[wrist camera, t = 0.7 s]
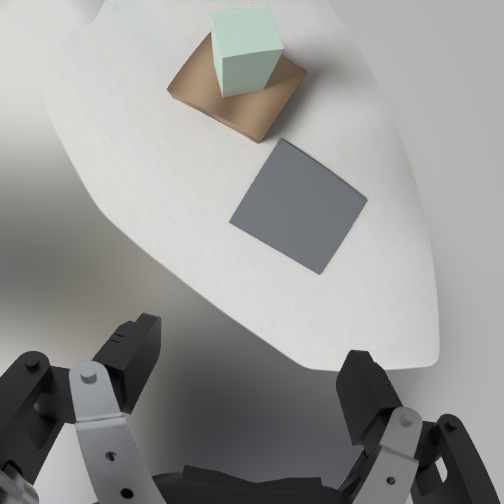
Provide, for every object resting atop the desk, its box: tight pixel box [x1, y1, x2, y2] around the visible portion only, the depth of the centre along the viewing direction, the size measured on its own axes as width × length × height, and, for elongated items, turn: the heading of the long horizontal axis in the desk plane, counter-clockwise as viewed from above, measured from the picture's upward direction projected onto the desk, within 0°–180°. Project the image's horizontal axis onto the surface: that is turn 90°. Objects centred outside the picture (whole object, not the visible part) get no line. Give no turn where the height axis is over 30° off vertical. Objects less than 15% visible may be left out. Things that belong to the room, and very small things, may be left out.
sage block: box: [210, 5, 284, 98], centre depth 19 cm, size 4×4×11 cm
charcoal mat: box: [229, 139, 367, 275], centre depth 33 cm, size 14×12×1 cm
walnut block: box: [167, 32, 308, 144], centre depth 27 cm, size 12×10×4 cm
